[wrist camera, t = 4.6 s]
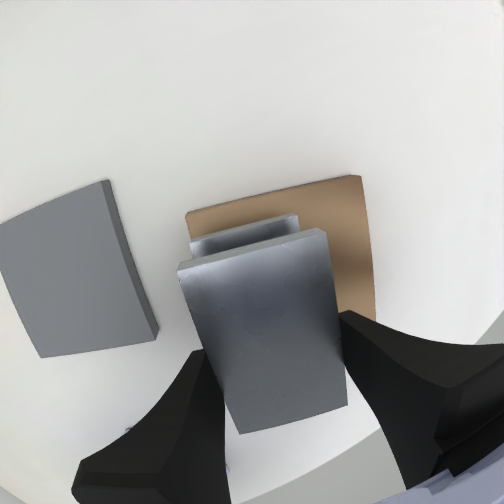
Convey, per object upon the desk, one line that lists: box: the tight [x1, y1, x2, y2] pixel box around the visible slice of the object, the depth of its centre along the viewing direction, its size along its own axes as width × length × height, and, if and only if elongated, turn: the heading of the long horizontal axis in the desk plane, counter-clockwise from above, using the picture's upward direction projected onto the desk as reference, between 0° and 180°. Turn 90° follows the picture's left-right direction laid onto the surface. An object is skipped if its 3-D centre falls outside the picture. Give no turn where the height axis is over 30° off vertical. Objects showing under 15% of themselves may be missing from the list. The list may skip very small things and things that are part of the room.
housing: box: [176, 213, 348, 434], centre depth 13 cm, size 8×5×5 cm, turn 13°
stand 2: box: [185, 175, 376, 322], centre depth 20 cm, size 11×11×2 cm
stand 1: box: [0, 180, 159, 358], centre depth 18 cm, size 11×11×2 cm
